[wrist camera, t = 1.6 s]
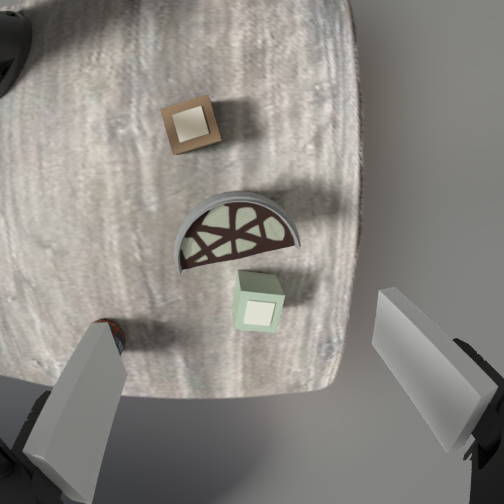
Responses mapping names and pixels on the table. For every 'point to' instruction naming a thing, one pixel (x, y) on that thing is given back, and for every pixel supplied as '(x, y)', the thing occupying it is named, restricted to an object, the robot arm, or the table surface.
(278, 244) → the food container
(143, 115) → the table surface
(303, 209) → the table surface
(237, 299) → the sage block
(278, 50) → the table surface
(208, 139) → the walnut block
